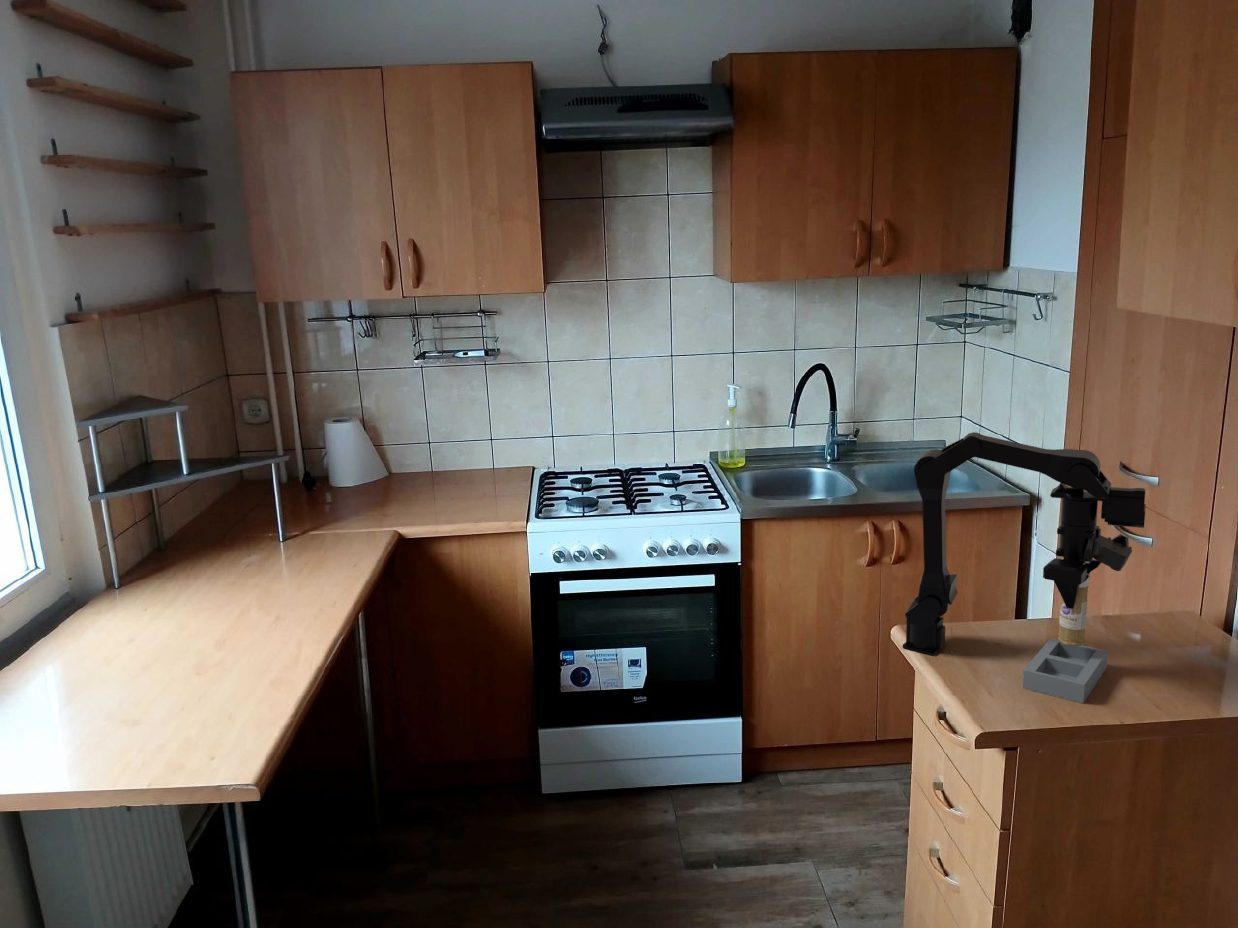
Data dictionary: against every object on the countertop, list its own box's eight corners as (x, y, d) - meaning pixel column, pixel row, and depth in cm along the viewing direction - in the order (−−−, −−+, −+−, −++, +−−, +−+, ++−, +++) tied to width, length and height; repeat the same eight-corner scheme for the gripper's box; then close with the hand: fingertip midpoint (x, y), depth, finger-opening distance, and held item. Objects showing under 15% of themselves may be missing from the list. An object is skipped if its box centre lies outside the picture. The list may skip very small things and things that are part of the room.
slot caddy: (1022, 687, 165) (1023, 670, 164) (1049, 655, 177) (1050, 638, 176) (1083, 703, 159) (1084, 684, 158) (1106, 668, 171) (1107, 650, 170)
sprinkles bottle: (1053, 642, 170) (1057, 573, 167) (1064, 634, 173) (1068, 567, 169) (1079, 649, 166) (1083, 579, 163) (1089, 641, 169) (1094, 572, 166)
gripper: (1115, 543, 152) (1109, 631, 156) (1141, 514, 166) (1135, 596, 169) (1044, 533, 159) (1040, 617, 163) (1074, 506, 173) (1070, 584, 176)
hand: (1073, 603), depth 168 cm, fingers closed on sprinkles bottle, 4 cm apart
